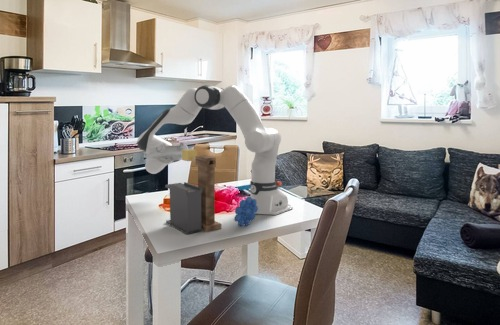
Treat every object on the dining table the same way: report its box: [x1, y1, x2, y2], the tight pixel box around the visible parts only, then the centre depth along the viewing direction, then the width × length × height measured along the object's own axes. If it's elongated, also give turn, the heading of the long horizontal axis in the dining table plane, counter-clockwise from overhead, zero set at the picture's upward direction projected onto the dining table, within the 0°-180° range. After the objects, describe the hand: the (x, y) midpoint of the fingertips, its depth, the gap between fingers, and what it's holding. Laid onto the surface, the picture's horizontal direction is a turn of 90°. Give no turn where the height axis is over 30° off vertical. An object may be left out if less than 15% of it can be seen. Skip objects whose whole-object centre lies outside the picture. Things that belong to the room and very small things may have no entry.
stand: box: [195, 155, 222, 233], centre depth 147 cm, size 7×12×29 cm, turn 39°
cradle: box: [164, 182, 204, 235], centre depth 147 cm, size 7×18×17 cm, turn 39°
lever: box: [234, 184, 251, 194], centre depth 207 cm, size 7×7×18 cm
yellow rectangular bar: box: [181, 148, 210, 163], centre depth 150 cm, size 4×17×4 cm, turn 39°
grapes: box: [234, 196, 258, 227], centre depth 151 cm, size 12×7×12 cm, turn 128°
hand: (173, 144), depth 169 cm, fingers open, 8 cm apart
